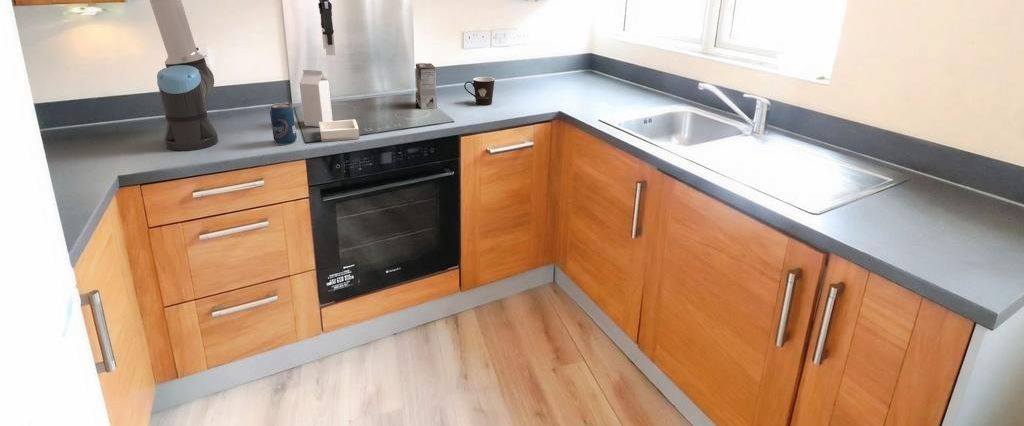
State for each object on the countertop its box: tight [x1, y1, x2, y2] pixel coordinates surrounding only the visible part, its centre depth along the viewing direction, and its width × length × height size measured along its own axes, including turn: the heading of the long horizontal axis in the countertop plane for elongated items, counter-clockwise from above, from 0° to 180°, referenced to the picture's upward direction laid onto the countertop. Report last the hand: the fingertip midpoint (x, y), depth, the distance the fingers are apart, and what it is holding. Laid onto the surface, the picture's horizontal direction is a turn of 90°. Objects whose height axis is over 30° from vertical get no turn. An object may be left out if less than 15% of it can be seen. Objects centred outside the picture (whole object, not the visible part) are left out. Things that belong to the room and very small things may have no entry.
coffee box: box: [415, 62, 438, 110], centre depth 237 cm, size 9×6×16 cm
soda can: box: [269, 102, 297, 146], centre depth 192 cm, size 7×7×12 cm
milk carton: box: [298, 69, 334, 128], centre depth 210 cm, size 7×7×19 cm
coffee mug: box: [463, 76, 495, 107], centre depth 244 cm, size 12×9×10 cm
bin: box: [319, 119, 360, 143], centre depth 201 cm, size 12×12×4 cm
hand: (329, 51), depth 203 cm, fingers open, 13 cm apart
